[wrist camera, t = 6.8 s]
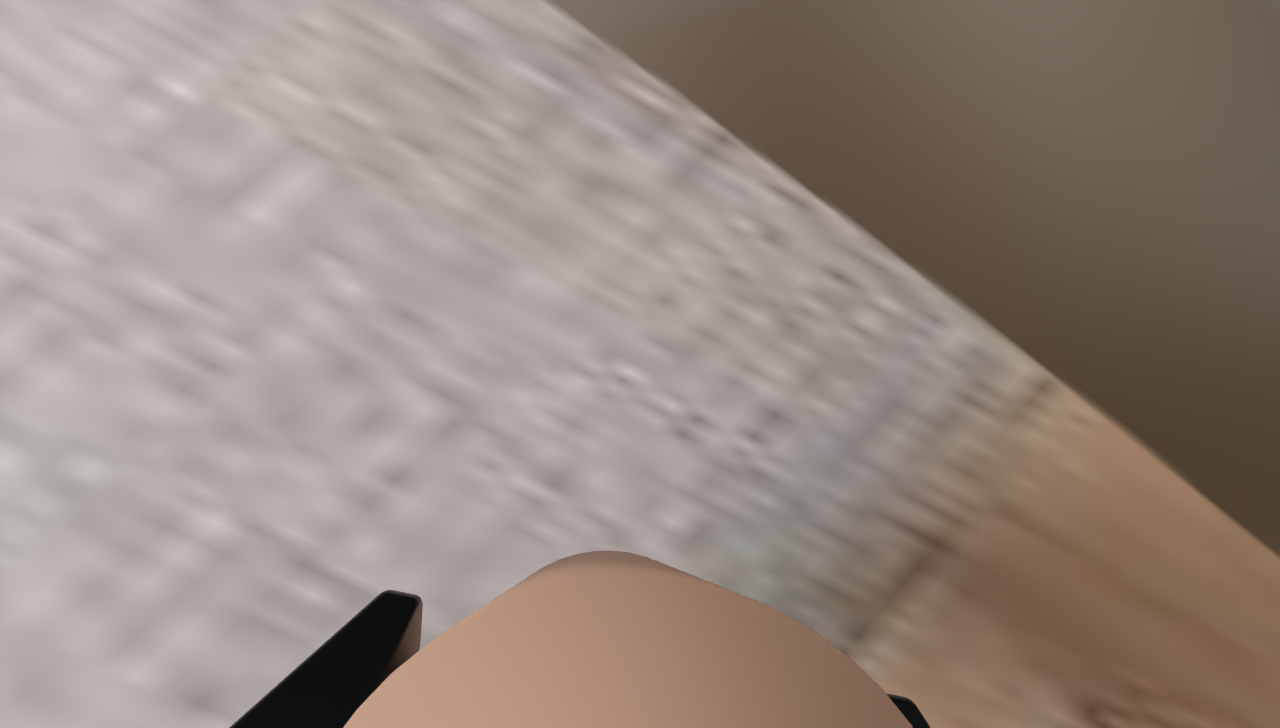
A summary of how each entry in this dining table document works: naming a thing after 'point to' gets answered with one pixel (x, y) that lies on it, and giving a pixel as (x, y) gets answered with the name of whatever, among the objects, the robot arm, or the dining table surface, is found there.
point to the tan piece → (627, 660)
